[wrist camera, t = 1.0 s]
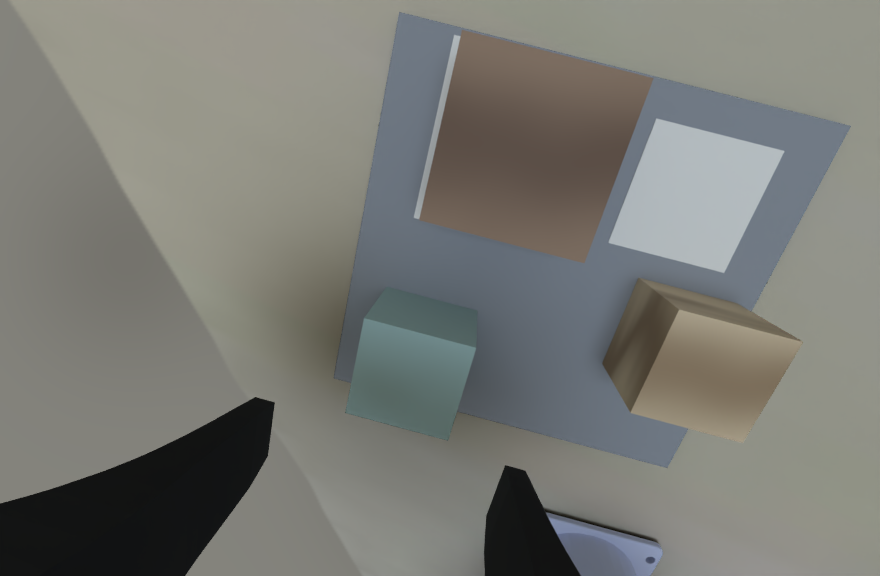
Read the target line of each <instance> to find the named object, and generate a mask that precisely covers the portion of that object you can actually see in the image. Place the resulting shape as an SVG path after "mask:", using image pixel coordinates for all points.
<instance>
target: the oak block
mask: <svg viewBox="0 0 880 576" xmlns="http://www.w3.org/2000/svg"><path fill="white" fill-rule="evenodd" d="M802 344H803V342H802V341H801V340H799V339H797V338H795V337H794V336H792V335H790V334H789V333H787V332H785V331H784V330H782V329H780V328H778V327H777V326H775V325H773V324H772V323H770V322H768V321H766V320H765V319H763V318H761V317H760V316H758V315H756V314H755V313H753V312H751V311H749V310H748V309H746V308H744V307H743V306H741V305H739V304H737V303H734V302H730V301H727V300H723V299H719V298H715V297H711V296H707V295H704V294H700V293H696V292H692V291H688V290H684V289H681V288H677V287H673V286H669V285H665V284H661V283H658V282H654V281H650V280H646V279H642V278H638V280H637V283H636V285H635V287H634V290H633V292H632V294H631V297H630V299H629V301H628V304H627V306H626V308H625V311H624V313H623V316H622V318H621V320H620V323H619V325H618V327H617V330H616V332H615V334H614V337H613V339H612V341H611V344H610V346H609V348H608V351H607V353H606V355H605V358H604V360H603V363H602V364H603V366H604V368H605V369H606V371H607V373H608V375H609V377H610V378H611V380H612V382H613V384H614V385H615V387H616V389H617V391H618V392H619V394H620V396H621V398H622V399H623V401H624V403H625V405H626V406H627V408H628V410H629V412H630V413H632V414H636V415H640V416H644V417H647V418H651V419H655V420H659V421H662V422H666V423H670V424H674V425H677V426H681V427H685V428H689V429H692V430H696V431H700V432H704V433H707V434H711V435H715V436H719V437H722V438H726V439H730V440H734V441H737V442H741V443H743V442H744V440H745V439H746V437H747V435H748V434H749V432H750V430H751V429H752V427H753V425H754V424H755V422H756V420H757V419H758V417H759V415H760V414H761V412H762V410H763V409H764V407H765V405H766V404H767V402H768V400H769V399H770V397H771V395H772V394H773V392H774V390H775V389H776V387H777V385H778V384H779V382H780V380H781V379H782V377H783V375H784V374H785V372H786V370H787V369H788V367H789V365H790V364H791V362H792V360H793V359H794V357H795V355H796V354H797V352H798V350H799V349H800V347H801V345H802Z"/></svg>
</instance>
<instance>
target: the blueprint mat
mask: <svg viewBox="0 0 880 576" xmlns="http://www.w3.org/2000/svg"><path fill="white" fill-rule="evenodd" d="M462 30H465V31H469V32H473V33H477V34H481V35H485V36H489V37H493V38H497V39H501V40H505V41H509V42H513V43H517V44H521V45H525V46H528V47H532V48H536V49H540V50H544V51H548V52H552V53H556V54H560V55H564V56H568V57H572V58H576V59H580V60H584V61H588V62H592V63H596V64H600V65H604V66H608V67H612V68H616V69H620V70H623V71H627V72H631V73H635V74H639V75H643V76H647V77H651V78H654V79H653V81H652V84H651V87H650V89H649V92H648V95H647V97H646V100H645V103H644V105H643V108H642V111H641V113H640V116H639V119H638V121H637V124H636V127H635V129H634V132H633V135H632V137H631V140H630V143H629V145H628V148H627V151H626V153H625V156H624V159H623V161H622V164H621V167H620V170H619V172H618V175H617V178H616V180H615V183H614V186H613V188H612V191H611V194H610V196H609V199H608V202H607V204H606V207H605V210H604V212H603V215H602V218H601V220H600V223H599V226H598V228H597V231H596V234H595V236H594V239H593V242H592V244H591V247H590V250H589V252H588V255H587V258H586V260H585V263H581V262H577V261H573V260H569V259H566V258H562V257H558V256H554V255H550V254H547V253H543V252H539V251H535V250H531V249H527V248H524V247H520V246H516V245H512V244H508V243H504V242H501V241H497V240H493V239H489V238H485V237H481V236H478V235H474V234H470V233H466V232H462V231H458V230H455V229H451V228H447V227H443V226H439V225H435V224H432V223H428V222H424V221H420V220H419V218H420V214H421V209H422V205H423V200H424V196H425V192H426V187H427V183H428V178H429V174H430V169H431V165H432V161H433V156H434V152H435V147H436V143H437V138H438V134H439V130H440V125H441V121H442V116H443V112H444V108H445V103H446V99H447V94H448V90H449V85H450V81H451V77H452V72H453V68H454V63H455V59H456V55H457V50H458V46H459V41H460V37H461V32H462ZM850 127H851V126H849V125H845V124H841V123H837V122H833V121H829V120H825V119H821V118H817V117H813V116H809V115H805V114H801V113H797V112H793V111H789V110H785V109H781V108H777V107H773V106H769V105H765V104H762V103H758V102H754V101H750V100H746V99H742V98H738V97H734V96H730V95H726V94H722V93H718V92H714V91H710V90H706V89H702V88H698V87H694V86H690V85H686V84H682V83H678V82H674V81H670V80H666V79H662V78H659V77H655V76H651V75H647V74H643V73H639V72H635V71H631V70H627V69H623V68H619V67H615V66H611V65H607V64H603V63H599V62H595V61H591V60H587V59H583V58H579V57H575V56H571V55H567V54H563V53H560V52H556V51H552V50H548V49H544V48H540V47H536V46H532V45H528V44H524V43H520V42H516V41H512V40H508V39H504V38H500V37H496V36H492V35H488V34H484V33H480V32H476V31H472V30H468V29H464V28H461V27H457V26H453V25H449V24H445V23H441V22H437V21H433V20H429V19H425V18H421V17H417V16H413V15H409V14H405V13H401V12H399V17H398V23H397V28H396V34H395V39H394V45H393V50H392V56H391V62H390V67H389V73H388V78H387V84H386V89H385V95H384V100H383V106H382V112H381V117H380V123H379V128H378V134H377V139H376V145H375V151H374V156H373V162H372V167H371V173H370V178H369V184H368V189H367V195H366V201H365V206H364V212H363V217H362V223H361V228H360V234H359V240H358V245H357V251H356V256H355V262H354V267H353V273H352V279H351V284H350V290H349V295H348V301H347V306H346V312H345V317H344V323H343V329H342V334H341V340H340V345H339V351H338V356H337V362H336V368H335V373H334V378H335V379H338V380H342V381H346V382H349V383H351V382H352V377H353V371H354V366H355V361H356V356H357V351H358V346H359V341H360V336H361V331H362V326H363V321H364V317H365V316H366V315H367V313H368V312H369V311H370V309H371V308H372V306H373V305H374V304H375V302H376V301H377V299H378V298H379V297H380V295H381V294H382V293H383V291H384V290H385V288H386V287H390V288H394V289H398V290H402V291H405V292H409V293H413V294H417V295H421V296H424V297H428V298H432V299H436V300H439V301H443V302H447V303H451V304H455V305H458V306H462V307H466V308H470V309H473V310H477V342H476V351H475V354H474V357H473V360H472V364H471V367H470V370H469V374H468V377H467V380H466V383H465V387H464V390H463V393H462V397H461V400H460V403H459V406H458V410H457V412H461V413H465V414H468V415H472V416H476V417H480V418H483V419H487V420H491V421H494V422H498V423H502V424H506V425H509V426H513V427H517V428H520V429H524V430H528V431H532V432H535V433H539V434H543V435H547V436H550V437H554V438H558V439H561V440H565V441H569V442H573V443H576V444H580V445H584V446H587V447H591V448H595V449H599V450H602V451H606V452H610V453H613V454H617V455H621V456H625V457H628V458H632V459H636V460H639V461H643V462H647V463H651V464H654V465H658V466H662V467H666V468H667V467H668V465H669V464H670V462H671V460H672V458H673V456H674V454H675V452H676V451H677V449H678V447H679V445H680V443H681V441H682V439H683V438H684V436H685V434H686V432H687V430H688V428H685V427H681V426H677V425H674V424H670V423H666V422H662V421H659V420H655V419H651V418H647V417H644V416H640V415H636V414H632V413H630V412H629V410H628V408H627V406H626V405H625V403H624V401H623V399H622V398H621V396H620V394H619V392H618V391H617V389H616V387H615V385H614V384H613V382H612V380H611V378H610V377H609V375H608V373H607V371H606V369H605V368H604V366H603V364H602V363H603V360H604V358H605V355H606V353H607V351H608V348H609V346H610V344H611V341H612V339H613V337H614V334H615V332H616V330H617V327H618V325H619V323H620V320H621V318H622V316H623V313H624V311H625V308H626V306H627V304H628V301H629V299H630V297H631V294H632V292H633V290H634V287H635V285H636V283H637V280H638V278H642V279H646V280H650V281H654V282H658V283H661V284H665V285H669V286H673V287H677V288H681V289H684V290H688V291H692V292H696V293H700V294H704V295H707V296H711V297H715V298H719V299H723V300H727V301H730V302H734V303H737V304H739V305H741V306H743V307H744V308H746V309H748V310H749V311H752V309H753V307H754V305H755V304H756V302H757V300H758V298H759V296H760V294H761V292H762V291H763V289H764V287H765V285H766V283H767V281H768V279H769V278H770V276H771V274H772V272H773V270H774V268H775V266H776V265H777V263H778V261H779V259H780V257H781V255H782V253H783V252H784V250H785V248H786V246H787V244H788V242H789V240H790V239H791V237H792V235H793V233H794V231H795V229H796V227H797V225H798V224H799V222H800V220H801V218H802V216H803V214H804V212H805V211H806V209H807V207H808V205H809V203H810V201H811V199H812V198H813V196H814V194H815V192H816V190H817V188H818V186H819V185H820V183H821V181H822V179H823V177H824V175H825V173H826V172H827V170H828V168H829V166H830V164H831V162H832V160H833V158H834V157H835V155H836V153H837V151H838V149H839V147H840V145H841V144H842V142H843V140H844V138H845V136H846V134H847V132H848V131H849V129H850Z"/></svg>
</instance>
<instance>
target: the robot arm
mask: <svg viewBox="0 0 880 576" xmlns="http://www.w3.org/2000/svg"><path fill="white" fill-rule="evenodd" d="M274 404H275V402H271V401H267V400H264V399H260V398H256V397H255V398H253V399H251V400H249V401H248V402H246V403H244V404H242V405H240V406H238V407H237V408H235V409H233V410H231V411H229V412H228V413H226V414H224V415H222V416H220V417H219V418H217V419H215V420H213V421H211V422H210V423H208V424H206V425H204V426H202V427H200V428H199V429H196V430H195V431H193V432H191V433H189V434H187V435H185V436H183V437H181V438H179V439H177V440H175V441H173V442H171V443H169V444H167V445H165V446H162V447H160V448H158V449H156V450H154V451H152V452H150V453H147V454H145V455H143V456H141V457H138V458H136V459H133V460H131V461H129V462H126V463H123V464H121V465H119V466H116V467H114V468H111V469H108V470H106V471H103V472H100V473H98V474H94V475H92V476H89V477H86V478H83V479H80V480H77V481H74V482H71V483H68V484H65V485H63V486H59V487H56V488H53V489H50V490H47V491H43V492H40V493H37V494H33V495H30V496H27V497H23V498H19V499H15V500H12V501H8V502H4V503H1V504H0V576H185V575H186V574H187V572H188V571H189V569H190V568H191V566H192V565H193V564H194V562H195V561H196V559H197V558H198V556H199V555H200V554H201V552H202V551H203V550H204V548H205V547H206V546H207V544H208V543H209V542H210V540H211V539H212V538H213V536H214V535H215V534H216V532H217V531H218V530H219V528H220V527H221V526H222V524H223V523H224V522H225V520H226V519H227V517H228V516H229V514H230V513H231V512H232V511H233V509H234V508H235V507H236V505H237V504H238V503H239V501H240V500H241V498H242V497H243V496H244V494H245V493H246V492H247V490H248V489H249V487H250V485H251V484H252V482H253V481H254V479H255V477H256V476H257V474H258V472H259V470H260V469H261V467H262V465H263V463H264V462H265V460H266V458H267V456H268V450H269V442H270V435H271V427H272V419H273V411H274ZM662 555H663V551H662V548H661V546H660V545H659V544H658V543H656V542H654V541H650V540H646V539H643V538H639V537H635V536H632V535H628V534H624V533H621V532H617V531H613V530H610V529H606V528H602V527H599V526H595V525H591V524H588V523H584V522H580V521H576V520H573V519H569V518H565V517H562V516H558V515H554V514H551V513H547V512H545V510H544V508H543V506H542V504H541V502H540V500H539V498H538V496H537V494H536V492H535V490H534V488H533V485H532V483H531V481H530V479H529V477H528V475H527V473H526V471H524V470H521V469H517V468H513V467H510V466H506V465H505V468H504V470H503V473H502V476H501V478H500V481H499V484H498V486H497V489H496V492H495V494H494V497H493V500H492V502H491V505H490V508H489V510H488V513H487V516H486V529H485V546H484V561H485V576H651V574H652V572H653V571H654V569H655V567H656V565H657V564H658V562H659V560H660V559H661V557H662Z"/></svg>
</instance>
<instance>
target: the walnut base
mask: <svg viewBox="0 0 880 576" xmlns="http://www.w3.org/2000/svg"><path fill="white" fill-rule="evenodd" d="M653 79H654V78H651V77H647V76H643V75H639V74H635V73H631V72H627V71H623V70H620V69H616V68H612V67H608V66H604V65H600V64H596V63H592V62H588V61H584V60H580V59H576V58H572V57H568V56H564V55H560V54H556V53H552V52H548V51H544V50H540V49H536V48H532V47H528V46H525V45H521V44H517V43H513V42H509V41H505V40H501V39H497V38H493V37H489V36H485V35H481V34H477V33H473V32H469V31H465V30H462V32H461V37H460V41H459V46H458V50H457V55H456V59H455V63H454V68H453V72H452V77H451V81H450V85H449V90H448V94H447V99H446V103H445V108H444V112H443V116H442V121H441V125H440V130H439V134H438V138H437V143H436V147H435V152H434V156H433V161H432V165H431V169H430V174H429V178H428V183H427V187H426V192H425V196H424V200H423V205H422V209H421V214H420V218H419V220H420V221H424V222H428V223H432V224H435V225H439V226H443V227H447V228H451V229H455V230H458V231H462V232H466V233H470V234H474V235H478V236H481V237H485V238H489V239H493V240H497V241H501V242H504V243H508V244H512V245H516V246H520V247H524V248H527V249H531V250H535V251H539V252H543V253H547V254H550V255H554V256H558V257H562V258H566V259H569V260H573V261H577V262H581V263H585V260H586V258H587V255H588V252H589V250H590V247H591V244H592V242H593V239H594V236H595V234H596V231H597V228H598V226H599V223H600V220H601V218H602V215H603V212H604V210H605V207H606V204H607V202H608V199H609V196H610V194H611V191H612V188H613V186H614V183H615V180H616V178H617V175H618V172H619V170H620V167H621V164H622V161H623V159H624V156H625V153H626V151H627V148H628V145H629V143H630V140H631V137H632V135H633V132H634V129H635V127H636V124H637V121H638V119H639V116H640V113H641V111H642V108H643V105H644V103H645V100H646V97H647V95H648V92H649V89H650V87H651V84H652V81H653Z"/></svg>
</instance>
